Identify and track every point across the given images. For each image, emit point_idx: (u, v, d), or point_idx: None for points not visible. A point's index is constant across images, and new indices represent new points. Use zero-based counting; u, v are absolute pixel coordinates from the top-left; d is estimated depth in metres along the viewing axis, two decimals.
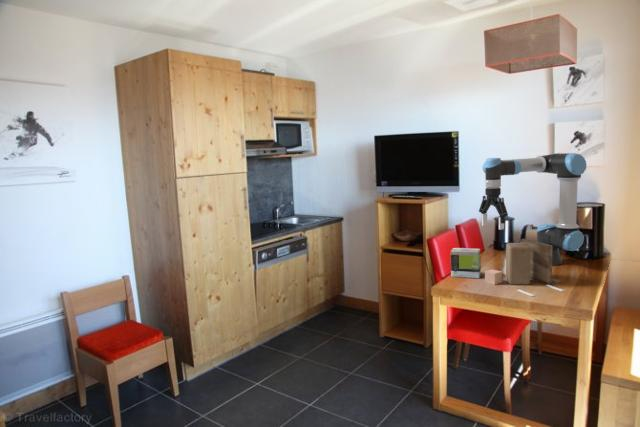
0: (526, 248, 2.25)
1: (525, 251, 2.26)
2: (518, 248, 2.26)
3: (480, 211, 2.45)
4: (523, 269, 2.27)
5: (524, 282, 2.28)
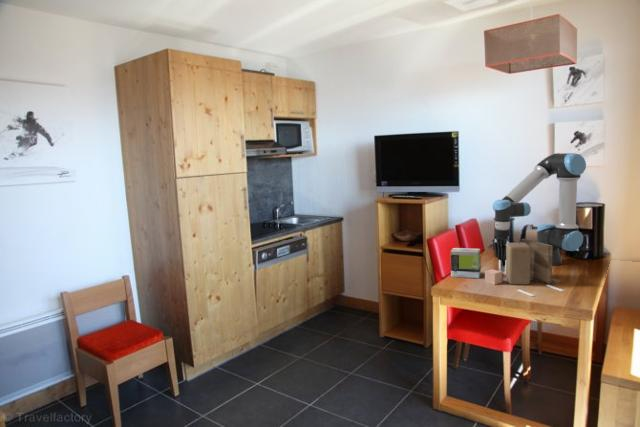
0: (526, 248, 2.25)
1: (526, 252, 2.25)
2: (518, 248, 2.26)
3: (497, 256, 2.45)
4: (523, 269, 2.27)
5: (524, 282, 2.28)
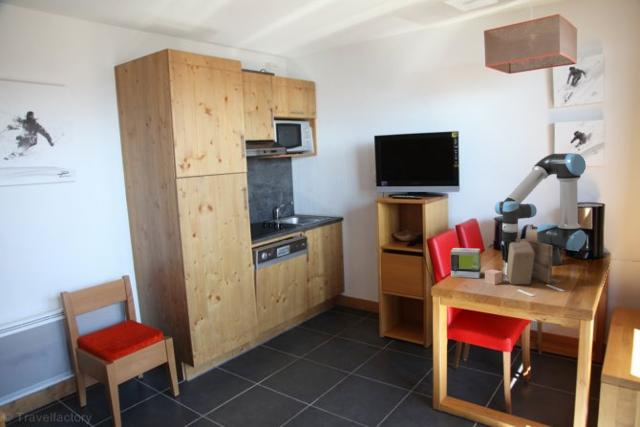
0: (530, 254, 2.19)
1: (529, 257, 2.19)
2: (522, 254, 2.19)
3: (503, 258, 2.39)
4: (525, 272, 2.24)
5: (525, 283, 2.27)
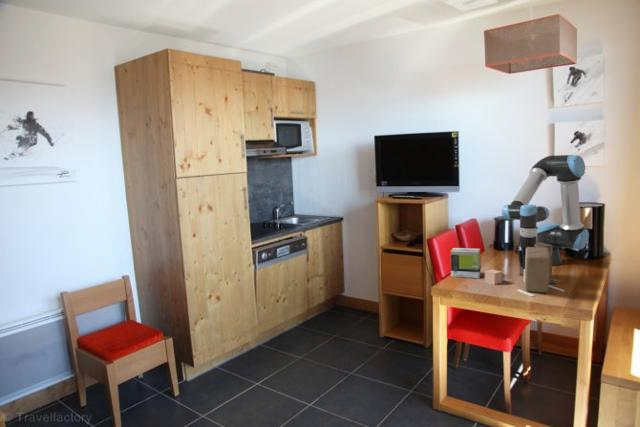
0: (545, 259, 2.06)
1: (544, 263, 2.07)
2: (536, 259, 2.08)
3: (521, 265, 2.27)
4: (541, 278, 2.11)
5: (541, 290, 2.14)
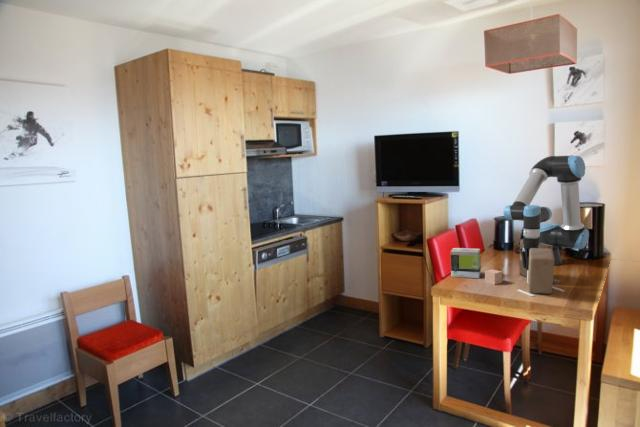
0: (549, 261, 2.04)
1: (548, 264, 2.05)
2: (540, 260, 2.05)
3: (525, 266, 2.25)
4: (545, 280, 2.09)
5: (545, 292, 2.12)
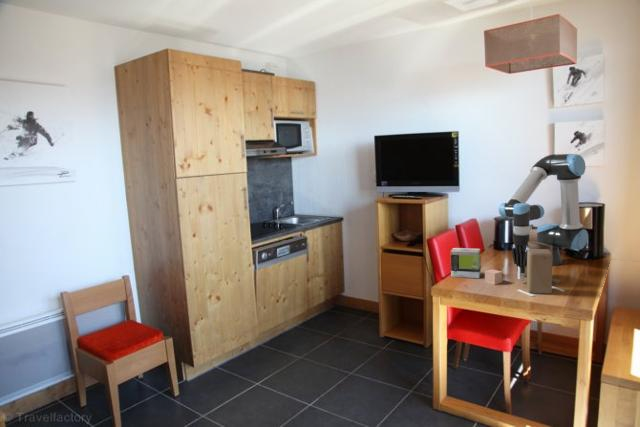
0: (548, 255, 2.10)
1: (547, 258, 2.10)
2: (539, 255, 2.11)
3: (515, 262, 2.32)
4: (544, 277, 2.12)
5: (545, 291, 2.13)
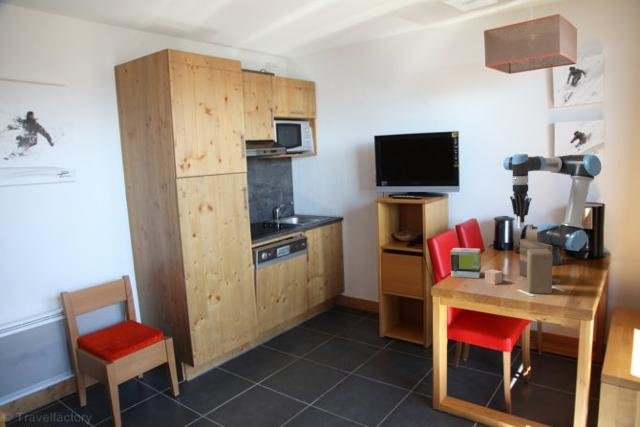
0: (548, 255, 2.10)
1: (547, 258, 2.10)
2: (539, 255, 2.11)
3: (515, 213, 2.38)
4: (544, 277, 2.12)
5: (545, 291, 2.13)
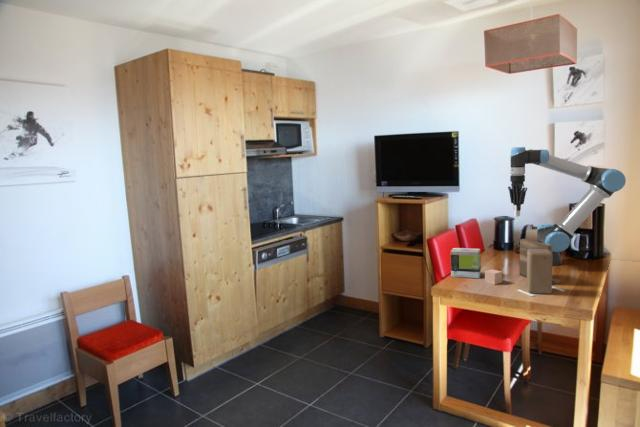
0: (548, 255, 2.10)
1: (547, 258, 2.10)
2: (539, 255, 2.11)
3: (512, 202, 2.56)
4: (544, 277, 2.12)
5: (545, 291, 2.13)
